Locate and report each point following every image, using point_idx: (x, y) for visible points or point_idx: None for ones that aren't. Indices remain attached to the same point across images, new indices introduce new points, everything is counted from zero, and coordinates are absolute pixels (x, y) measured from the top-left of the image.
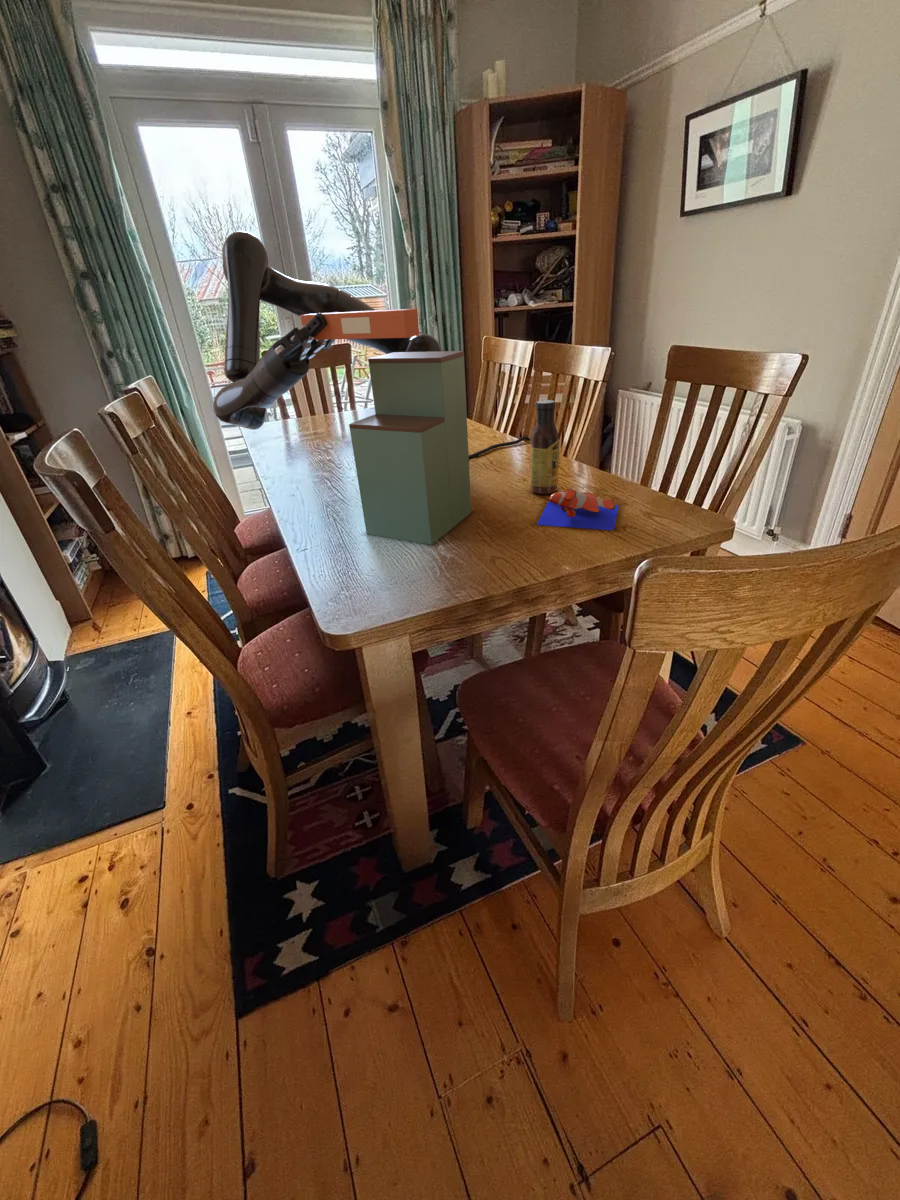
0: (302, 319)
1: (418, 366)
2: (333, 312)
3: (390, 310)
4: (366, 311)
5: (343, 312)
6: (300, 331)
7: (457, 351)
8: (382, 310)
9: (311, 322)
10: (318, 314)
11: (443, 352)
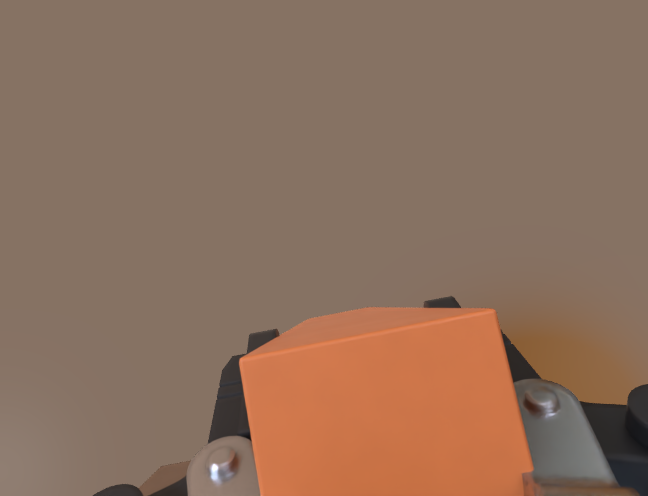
0: (498, 352)
1: None
2: (275, 336)
3: (361, 309)
4: (353, 313)
5: (344, 319)
6: (622, 419)
7: (162, 470)
8: (330, 316)
9: (508, 348)
10: (451, 304)
11: (169, 480)
